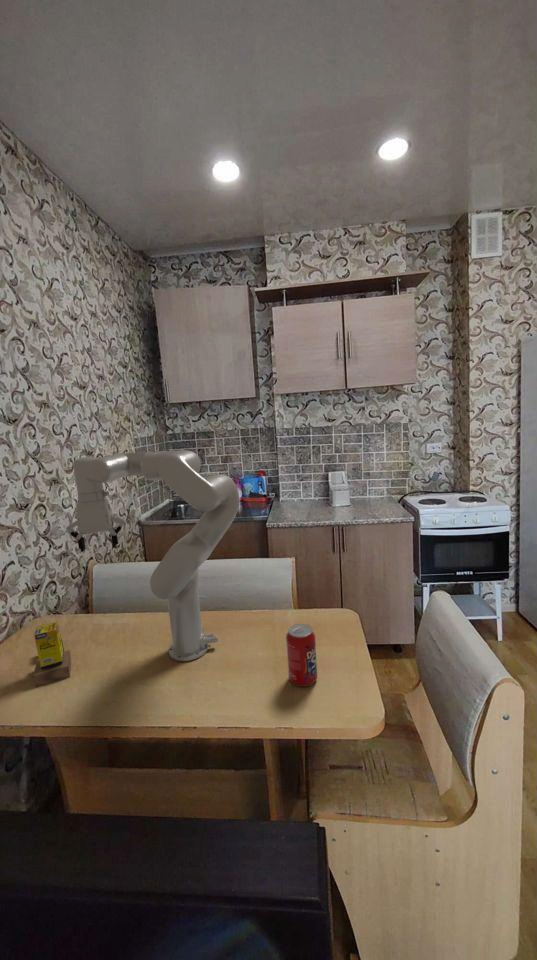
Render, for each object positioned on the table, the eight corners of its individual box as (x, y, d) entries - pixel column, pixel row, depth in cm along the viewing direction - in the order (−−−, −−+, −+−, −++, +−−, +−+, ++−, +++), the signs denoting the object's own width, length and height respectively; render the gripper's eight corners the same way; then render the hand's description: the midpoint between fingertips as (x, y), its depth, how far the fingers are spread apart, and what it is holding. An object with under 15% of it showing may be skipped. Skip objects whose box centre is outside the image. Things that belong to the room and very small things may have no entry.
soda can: (284, 675, 118) (281, 626, 115) (309, 667, 120) (306, 619, 118) (296, 692, 110) (292, 641, 108) (322, 683, 113) (319, 633, 110)
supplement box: (63, 663, 124) (56, 629, 122) (40, 670, 122) (33, 635, 120) (64, 653, 129) (58, 620, 128) (42, 659, 127) (36, 626, 125)
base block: (71, 661, 132) (69, 650, 131) (70, 678, 124) (68, 666, 123) (39, 670, 128) (37, 658, 128) (36, 687, 120) (33, 675, 120)
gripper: (121, 491, 136) (128, 541, 139) (65, 497, 133) (73, 548, 136) (118, 496, 129) (125, 548, 132) (58, 502, 126) (67, 556, 129)
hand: (99, 548), depth 134 cm, fingers open, 9 cm apart
